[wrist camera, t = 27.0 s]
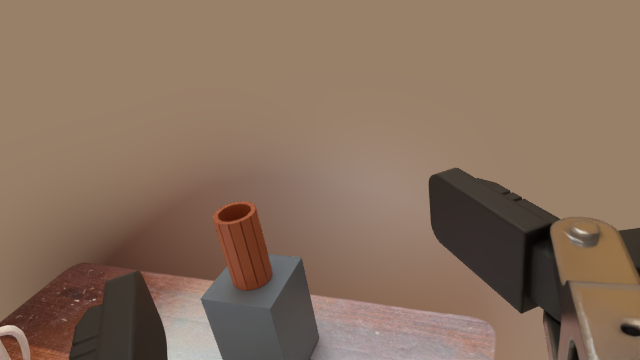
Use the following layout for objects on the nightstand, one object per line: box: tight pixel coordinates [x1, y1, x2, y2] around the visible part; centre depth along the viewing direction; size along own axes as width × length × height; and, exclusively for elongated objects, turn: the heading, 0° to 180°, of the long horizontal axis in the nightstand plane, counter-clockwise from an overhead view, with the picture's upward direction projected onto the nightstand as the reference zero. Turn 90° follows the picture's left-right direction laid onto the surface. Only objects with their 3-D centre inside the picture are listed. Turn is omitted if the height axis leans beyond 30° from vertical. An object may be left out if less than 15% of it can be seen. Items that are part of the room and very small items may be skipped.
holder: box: [201, 201, 319, 360], centre depth 48 cm, size 8×8×20 cm
